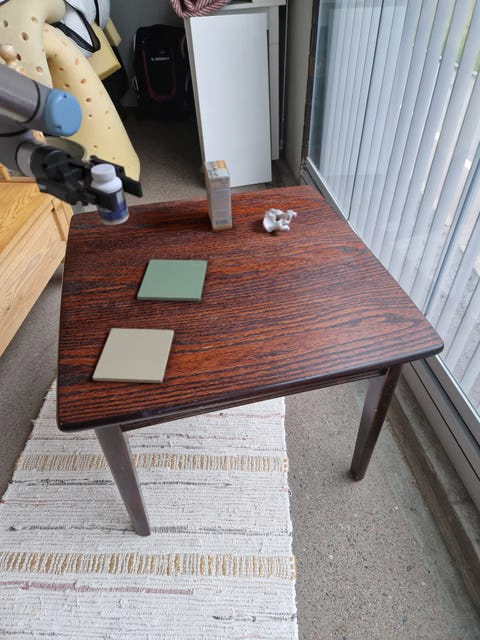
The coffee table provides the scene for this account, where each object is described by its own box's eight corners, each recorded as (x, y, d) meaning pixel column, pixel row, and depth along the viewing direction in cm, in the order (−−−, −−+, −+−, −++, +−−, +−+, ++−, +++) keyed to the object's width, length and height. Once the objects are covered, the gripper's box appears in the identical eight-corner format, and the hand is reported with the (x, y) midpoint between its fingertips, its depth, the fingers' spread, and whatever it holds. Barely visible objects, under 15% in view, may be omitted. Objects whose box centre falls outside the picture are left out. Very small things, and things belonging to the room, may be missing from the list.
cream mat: (93, 380, 66) (92, 377, 66) (112, 331, 74) (111, 328, 74) (162, 383, 66) (161, 380, 65) (174, 333, 74) (173, 329, 73)
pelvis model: (289, 223, 92) (260, 216, 93) (286, 239, 95) (258, 232, 96) (298, 205, 97) (271, 199, 99) (295, 221, 100) (269, 214, 102)
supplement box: (207, 213, 103) (202, 161, 94) (226, 211, 104) (224, 159, 94) (212, 231, 97) (208, 177, 88) (232, 228, 98) (230, 175, 89)
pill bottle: (95, 224, 78) (80, 173, 71) (108, 210, 82) (95, 160, 75) (121, 227, 77) (109, 176, 70) (133, 212, 81) (123, 163, 74)
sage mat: (137, 299, 80) (136, 296, 80) (150, 262, 89) (150, 259, 88) (200, 301, 80) (199, 298, 79) (207, 263, 88) (207, 260, 88)
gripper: (90, 166, 91) (167, 196, 81) (12, 200, 81) (90, 239, 70) (80, 130, 86) (161, 157, 76) (-4, 162, 75) (77, 198, 65)
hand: (127, 196), depth 73 cm, fingers closed on pill bottle, 5 cm apart
